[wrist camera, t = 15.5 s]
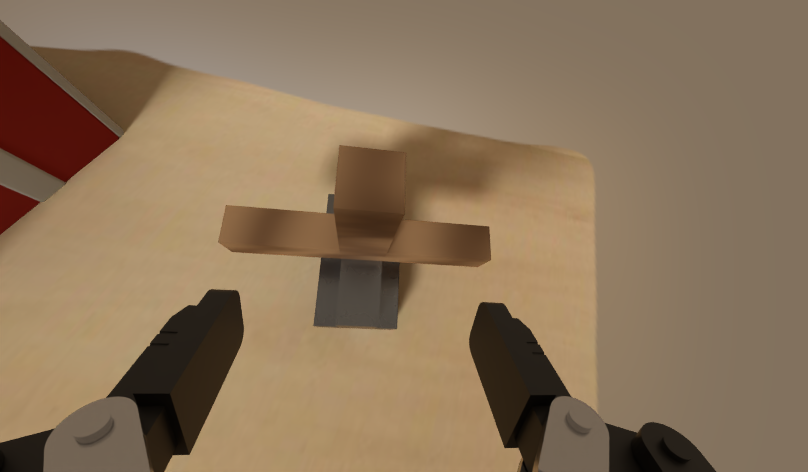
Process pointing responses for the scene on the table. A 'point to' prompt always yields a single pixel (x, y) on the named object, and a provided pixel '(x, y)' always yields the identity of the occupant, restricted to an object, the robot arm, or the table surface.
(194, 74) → the table surface
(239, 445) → the table surface
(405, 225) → the wooden t-shaped block
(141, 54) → the table surface
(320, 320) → the gray metal t-shaped block
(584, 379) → the table surface
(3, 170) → the red-striped tombstone block
